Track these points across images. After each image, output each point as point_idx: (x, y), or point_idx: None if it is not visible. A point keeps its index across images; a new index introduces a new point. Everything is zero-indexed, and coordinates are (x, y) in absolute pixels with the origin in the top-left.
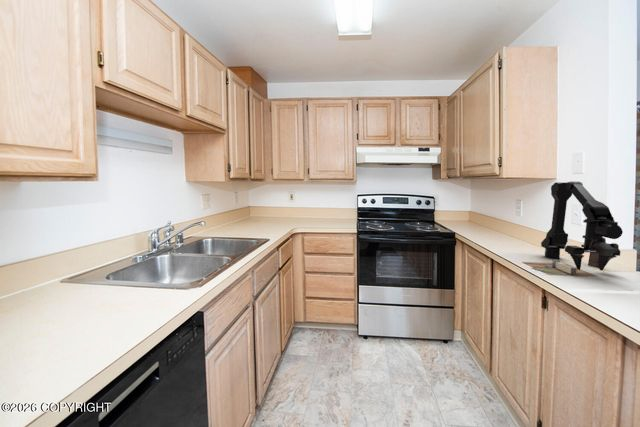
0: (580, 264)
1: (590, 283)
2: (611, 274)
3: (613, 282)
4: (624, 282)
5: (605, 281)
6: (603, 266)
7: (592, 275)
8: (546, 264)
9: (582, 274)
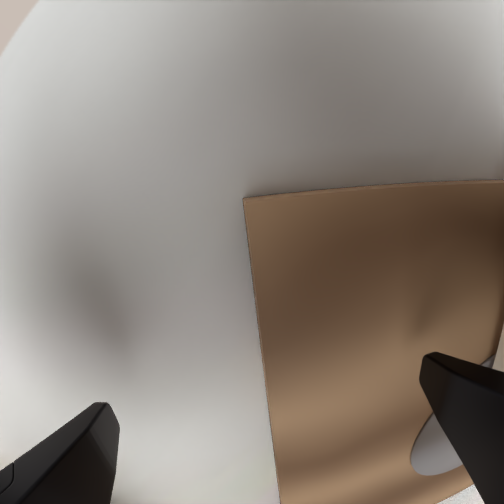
0: (490, 380)
1: (433, 29)
2: (21, 413)
3: (125, 98)
4: (7, 150)
5: (206, 115)
6: (72, 437)
7: (314, 242)
8: (454, 477)
9: (420, 260)
